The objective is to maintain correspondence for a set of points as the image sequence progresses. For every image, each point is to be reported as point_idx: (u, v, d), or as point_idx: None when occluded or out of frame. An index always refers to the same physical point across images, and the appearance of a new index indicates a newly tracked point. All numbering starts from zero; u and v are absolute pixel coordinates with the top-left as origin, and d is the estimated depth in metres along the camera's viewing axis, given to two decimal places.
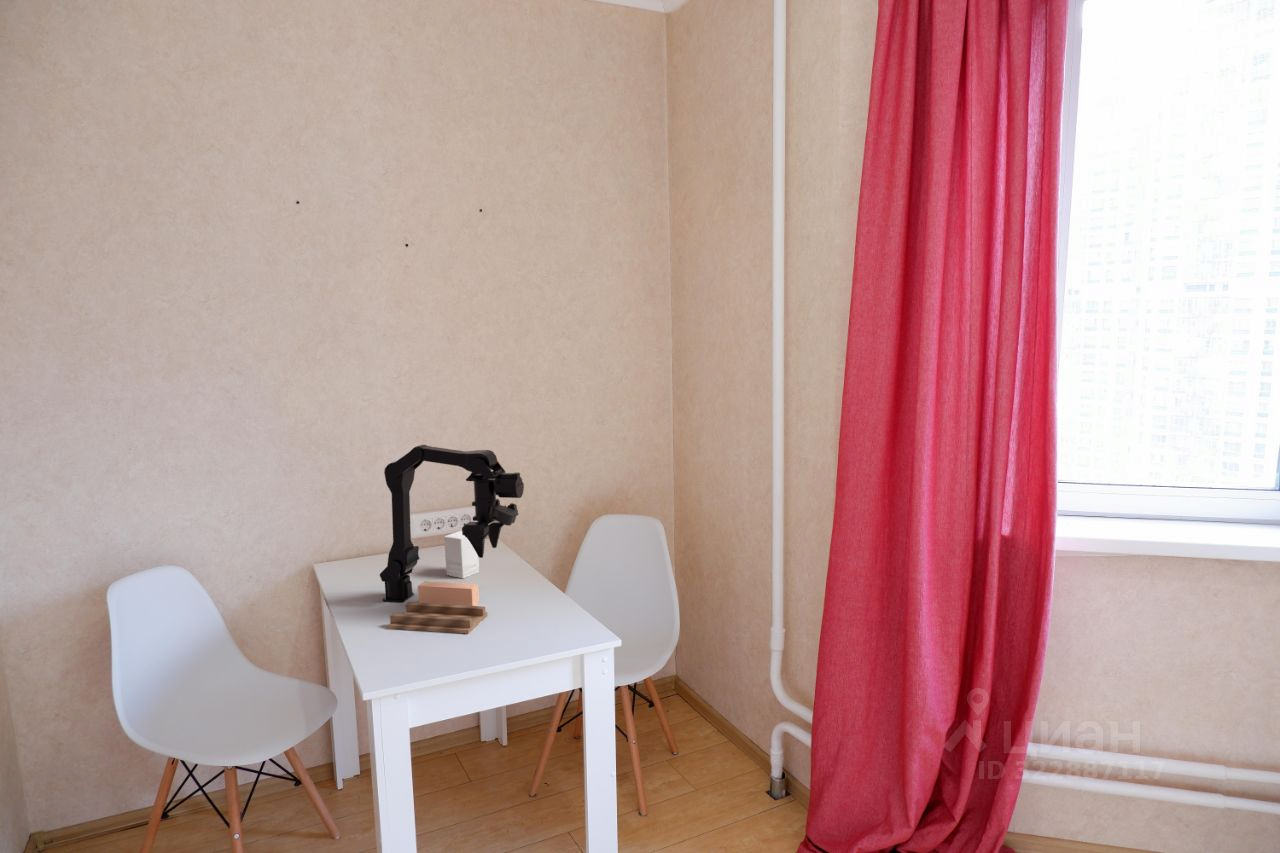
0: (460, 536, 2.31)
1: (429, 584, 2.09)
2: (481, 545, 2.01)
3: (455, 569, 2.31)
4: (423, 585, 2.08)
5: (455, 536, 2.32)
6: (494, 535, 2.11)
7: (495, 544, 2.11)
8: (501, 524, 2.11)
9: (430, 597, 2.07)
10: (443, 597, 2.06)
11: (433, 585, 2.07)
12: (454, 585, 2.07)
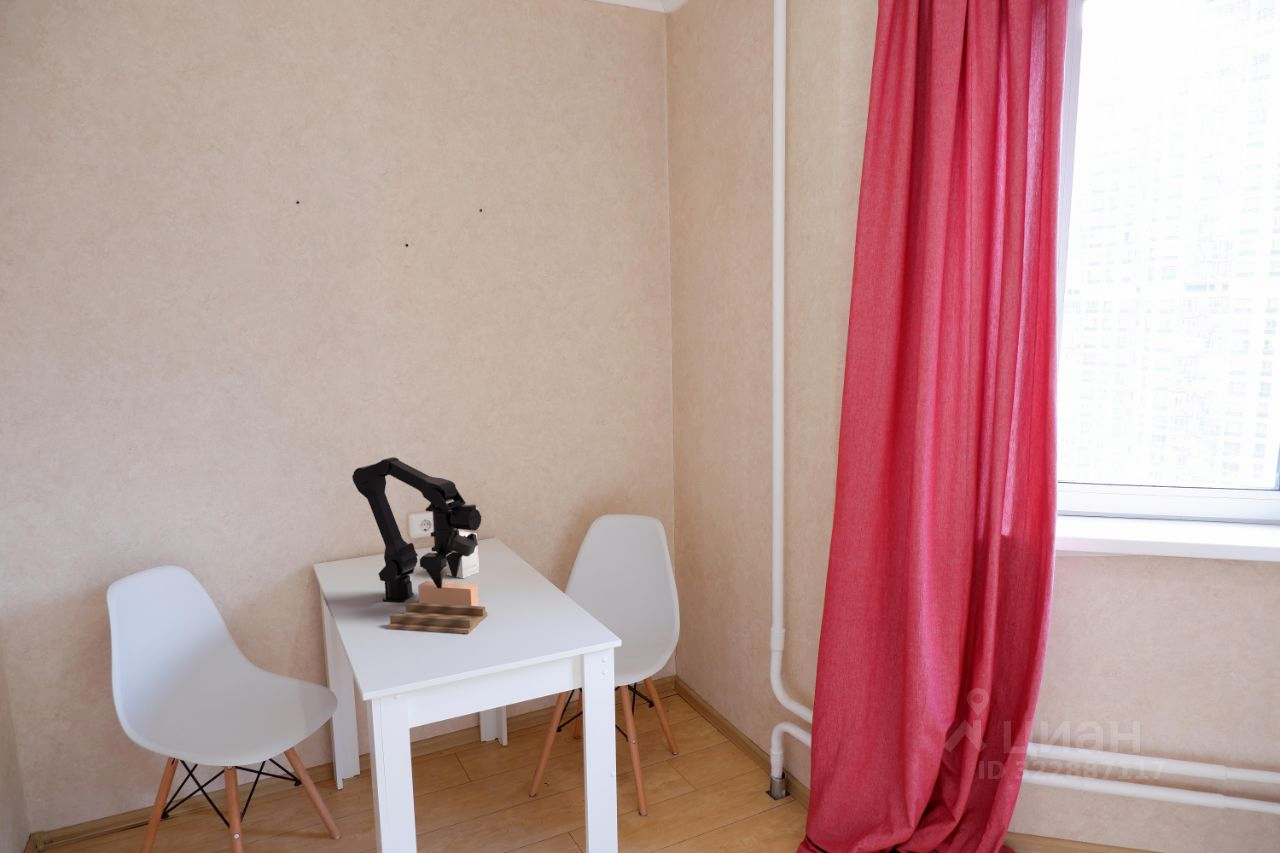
0: None
1: (430, 583, 2.09)
2: (439, 576, 2.01)
3: None
4: (423, 585, 2.08)
5: None
6: (454, 565, 2.12)
7: (455, 573, 2.12)
8: (461, 554, 2.11)
9: (430, 597, 2.07)
10: (442, 597, 2.06)
11: (433, 585, 2.07)
12: (454, 585, 2.07)
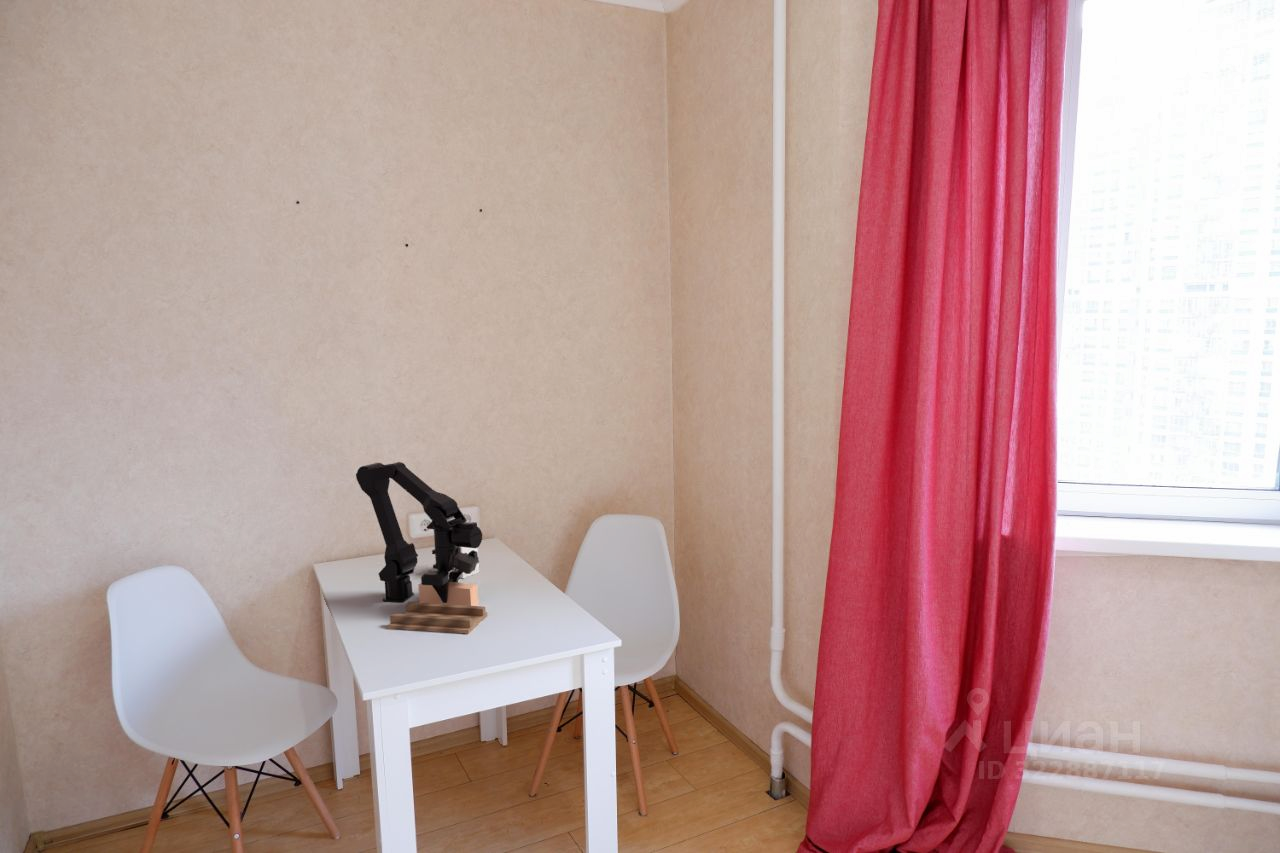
0: None
1: None
2: (445, 591, 2.04)
3: None
4: None
5: None
6: None
7: None
8: (459, 573, 2.09)
9: (431, 596, 2.07)
10: None
11: None
12: (453, 584, 2.07)
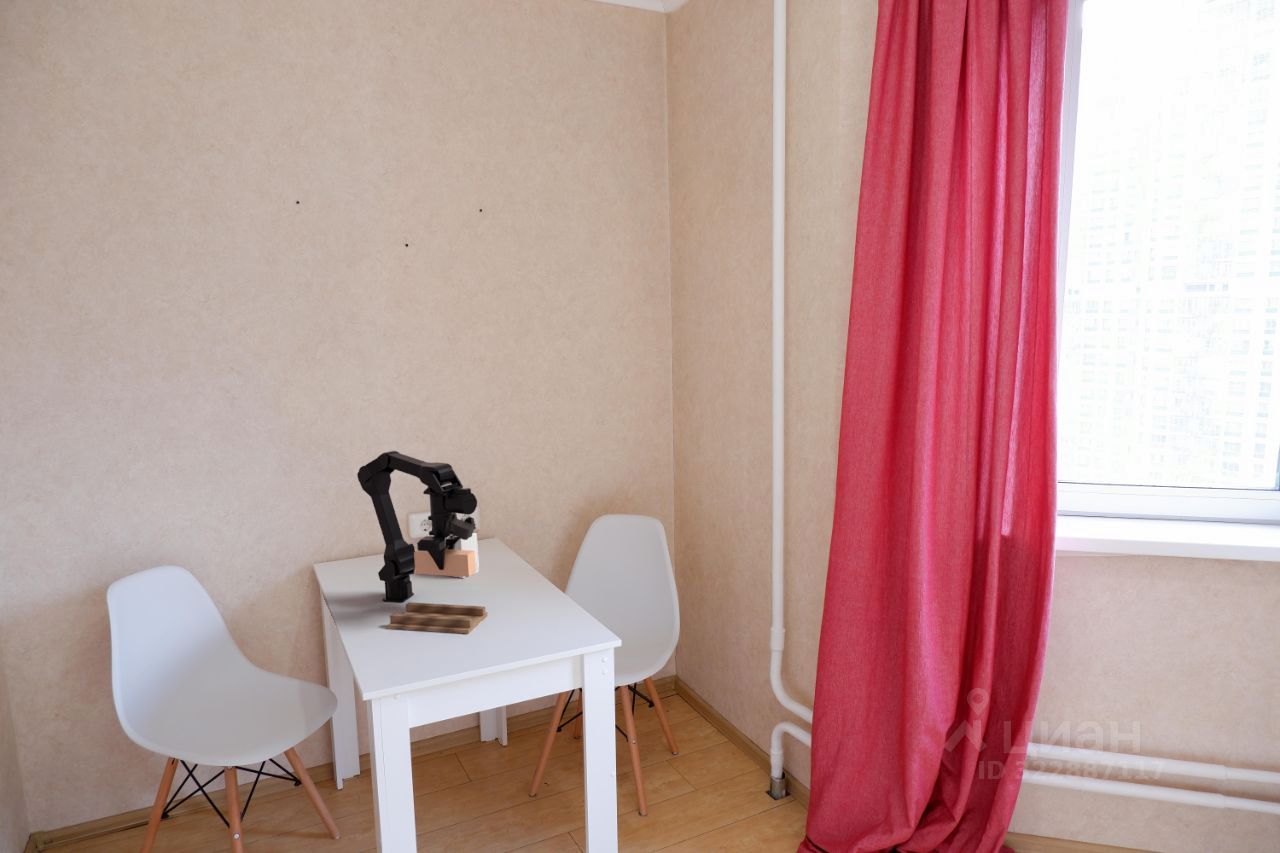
0: None
1: None
2: (441, 557, 2.00)
3: None
4: (419, 551, 2.04)
5: None
6: None
7: None
8: (455, 540, 2.06)
9: (427, 564, 2.03)
10: None
11: None
12: (450, 551, 2.03)
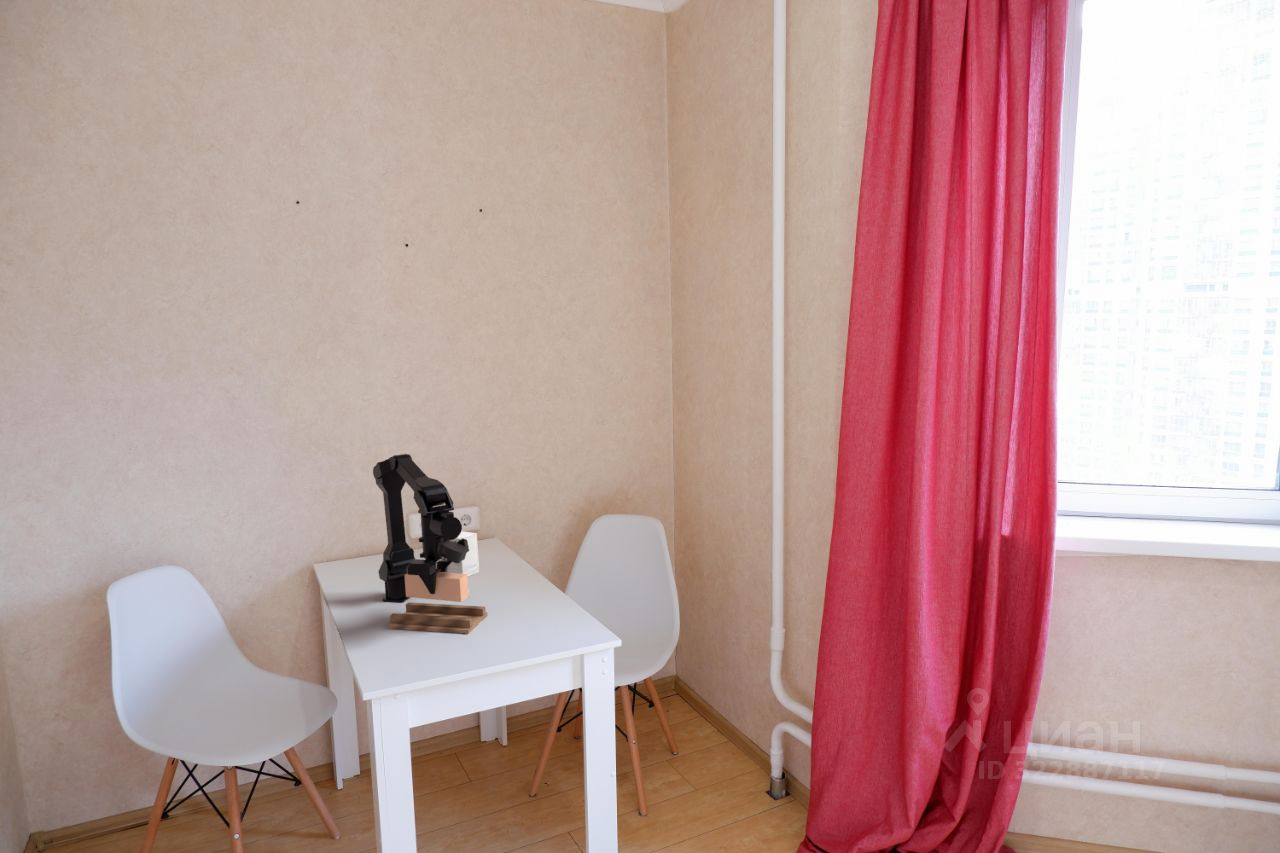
0: (460, 536, 2.31)
1: None
2: (432, 581, 1.91)
3: (455, 569, 2.31)
4: None
5: None
6: None
7: None
8: (448, 563, 1.96)
9: (418, 587, 1.94)
10: None
11: None
12: (442, 574, 1.94)
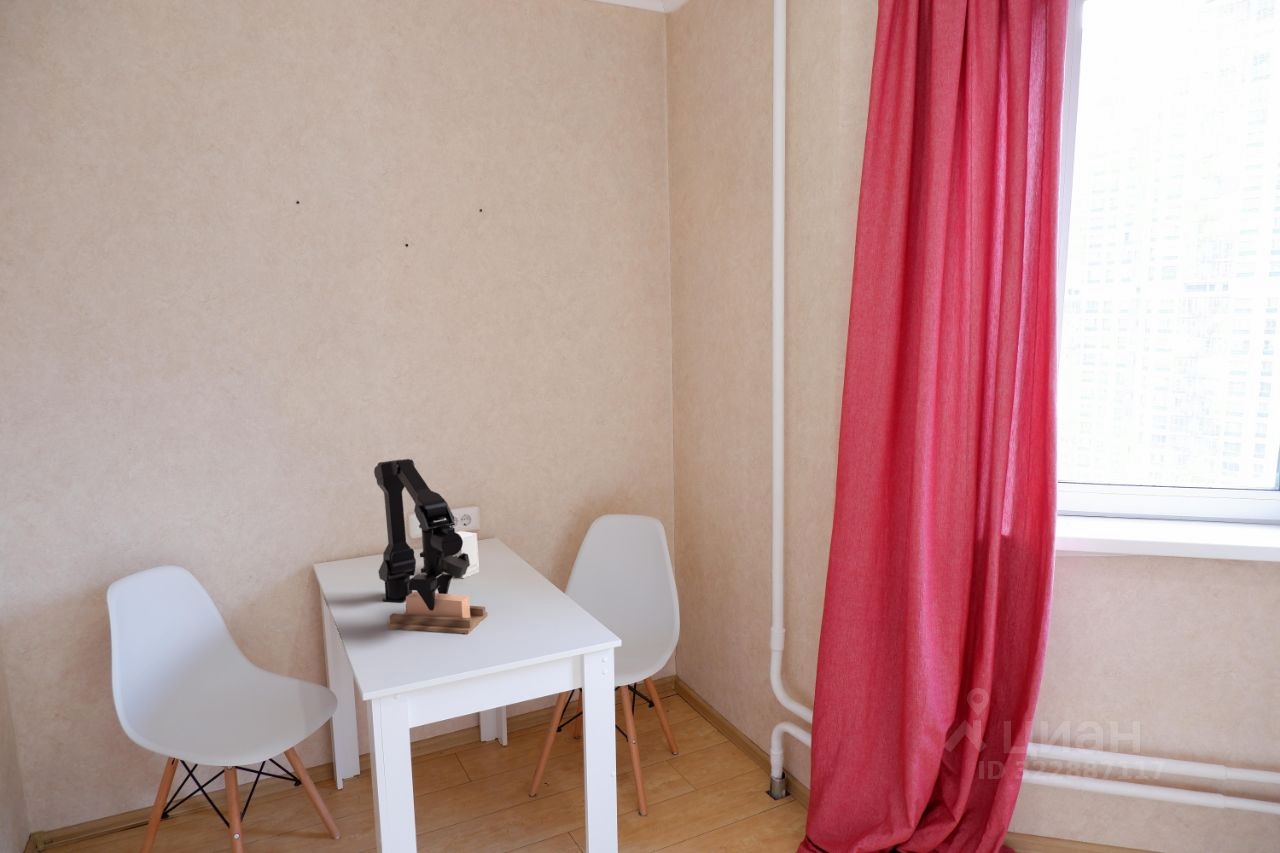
0: None
1: (418, 595, 1.96)
2: (431, 598, 1.90)
3: None
4: (411, 596, 1.95)
5: None
6: (443, 588, 1.98)
7: None
8: (450, 576, 1.98)
9: (419, 609, 1.95)
10: None
11: None
12: (444, 596, 1.95)
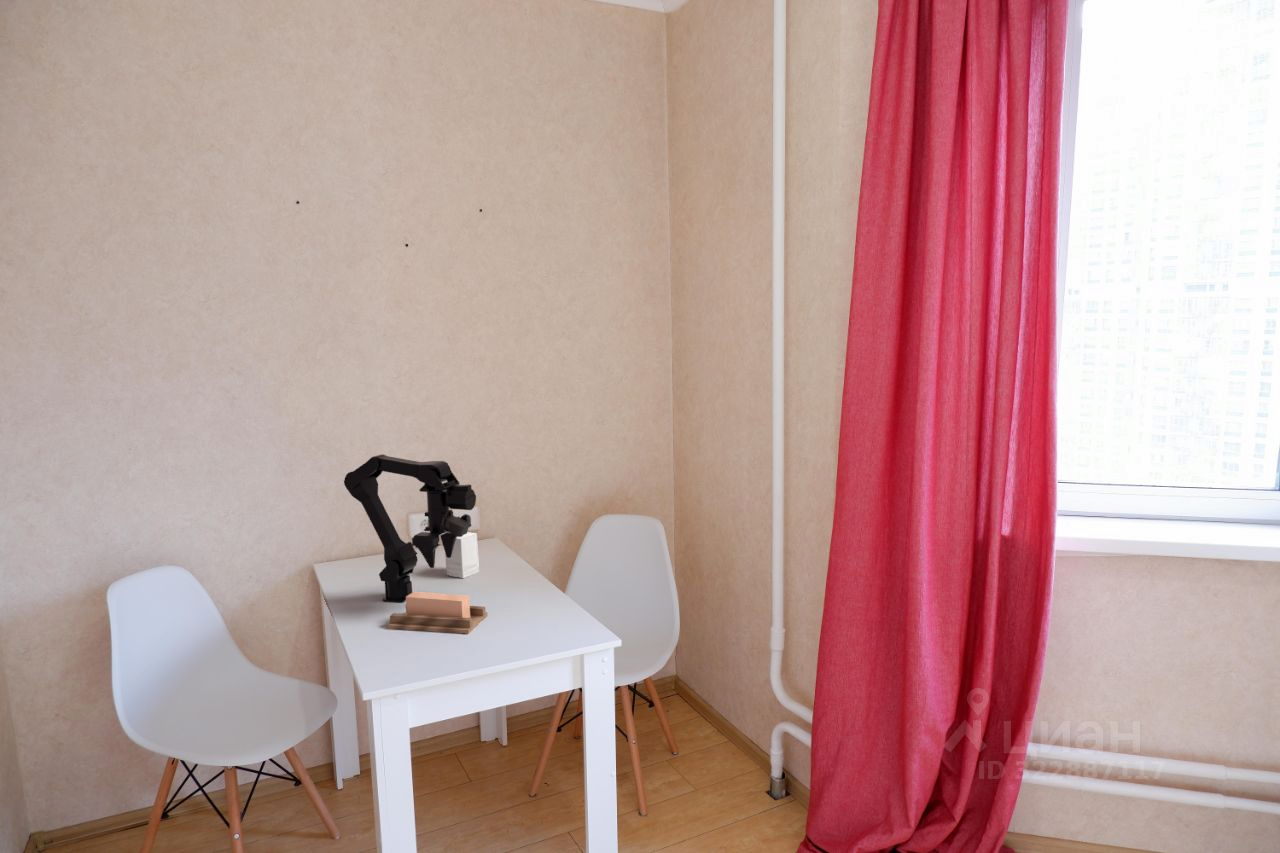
0: None
1: (418, 595, 1.96)
2: (431, 555, 2.03)
3: (455, 569, 2.31)
4: (411, 596, 1.95)
5: None
6: (448, 545, 2.13)
7: (449, 554, 2.13)
8: None
9: (419, 609, 1.95)
10: (432, 609, 1.94)
11: (422, 596, 1.95)
12: (444, 596, 1.95)
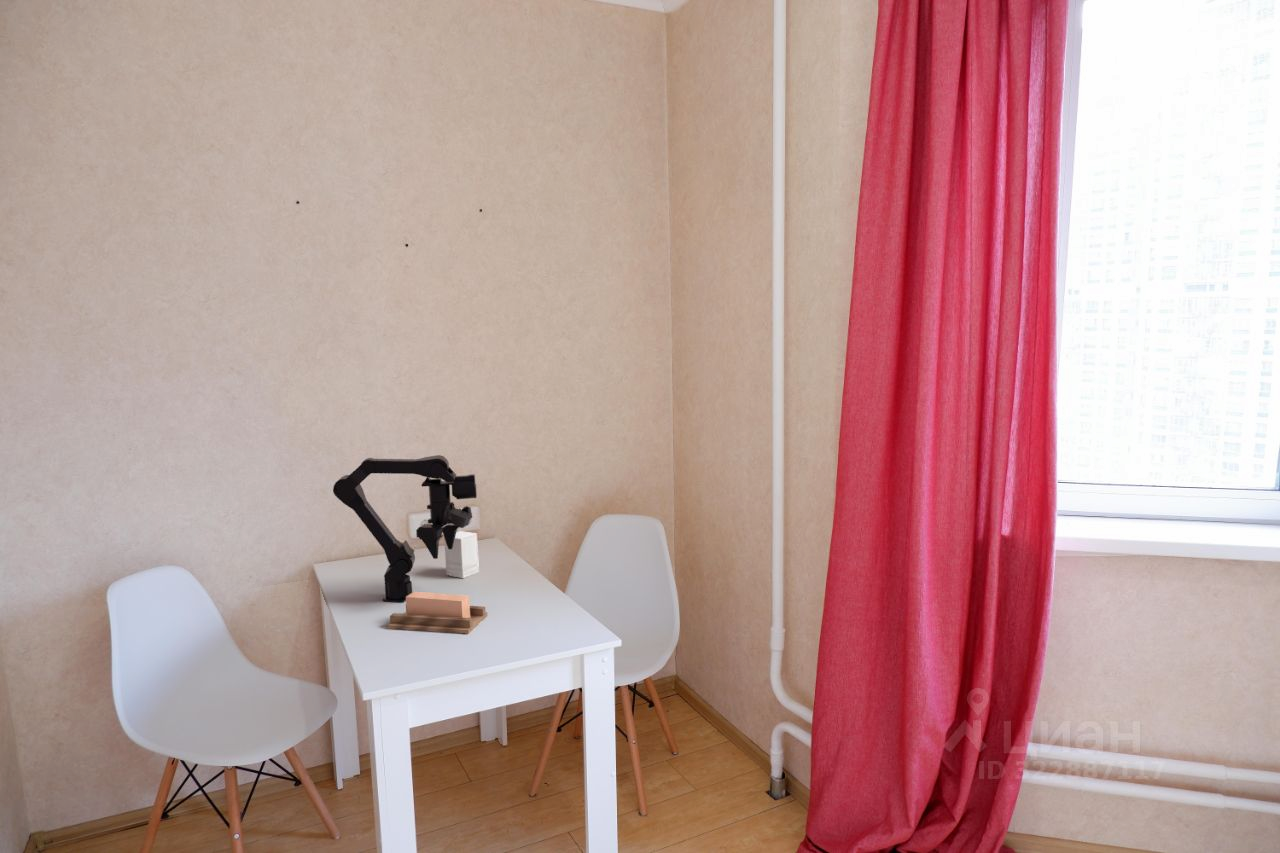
0: (460, 536, 2.31)
1: (418, 595, 1.96)
2: (435, 547, 2.09)
3: (455, 569, 2.31)
4: (411, 596, 1.95)
5: (455, 536, 2.32)
6: (449, 537, 2.20)
7: (451, 545, 2.20)
8: (456, 526, 2.19)
9: (419, 609, 1.95)
10: (432, 609, 1.94)
11: (422, 596, 1.95)
12: (444, 596, 1.95)
